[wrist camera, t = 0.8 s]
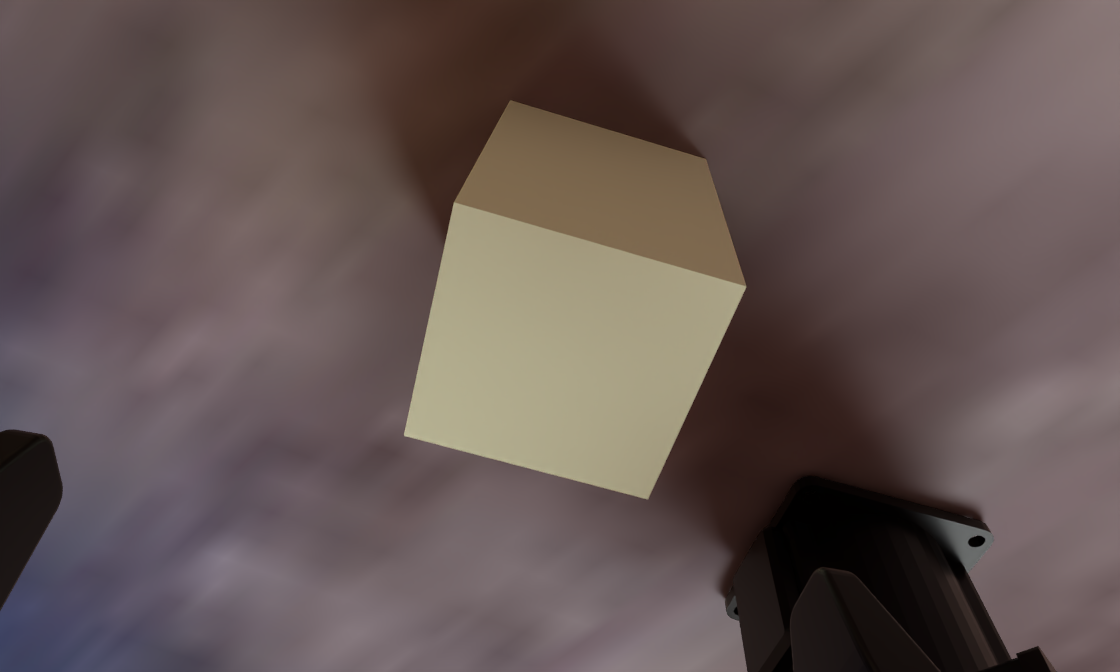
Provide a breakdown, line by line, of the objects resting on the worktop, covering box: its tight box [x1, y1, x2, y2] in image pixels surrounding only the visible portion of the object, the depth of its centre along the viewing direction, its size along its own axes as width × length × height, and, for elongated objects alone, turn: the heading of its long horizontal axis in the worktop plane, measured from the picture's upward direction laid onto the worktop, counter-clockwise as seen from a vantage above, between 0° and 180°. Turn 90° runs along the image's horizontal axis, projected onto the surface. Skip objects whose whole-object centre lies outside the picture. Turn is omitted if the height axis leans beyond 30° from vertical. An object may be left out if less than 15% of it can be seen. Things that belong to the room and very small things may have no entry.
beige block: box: [404, 100, 747, 499], centre depth 16 cm, size 5×5×7 cm
